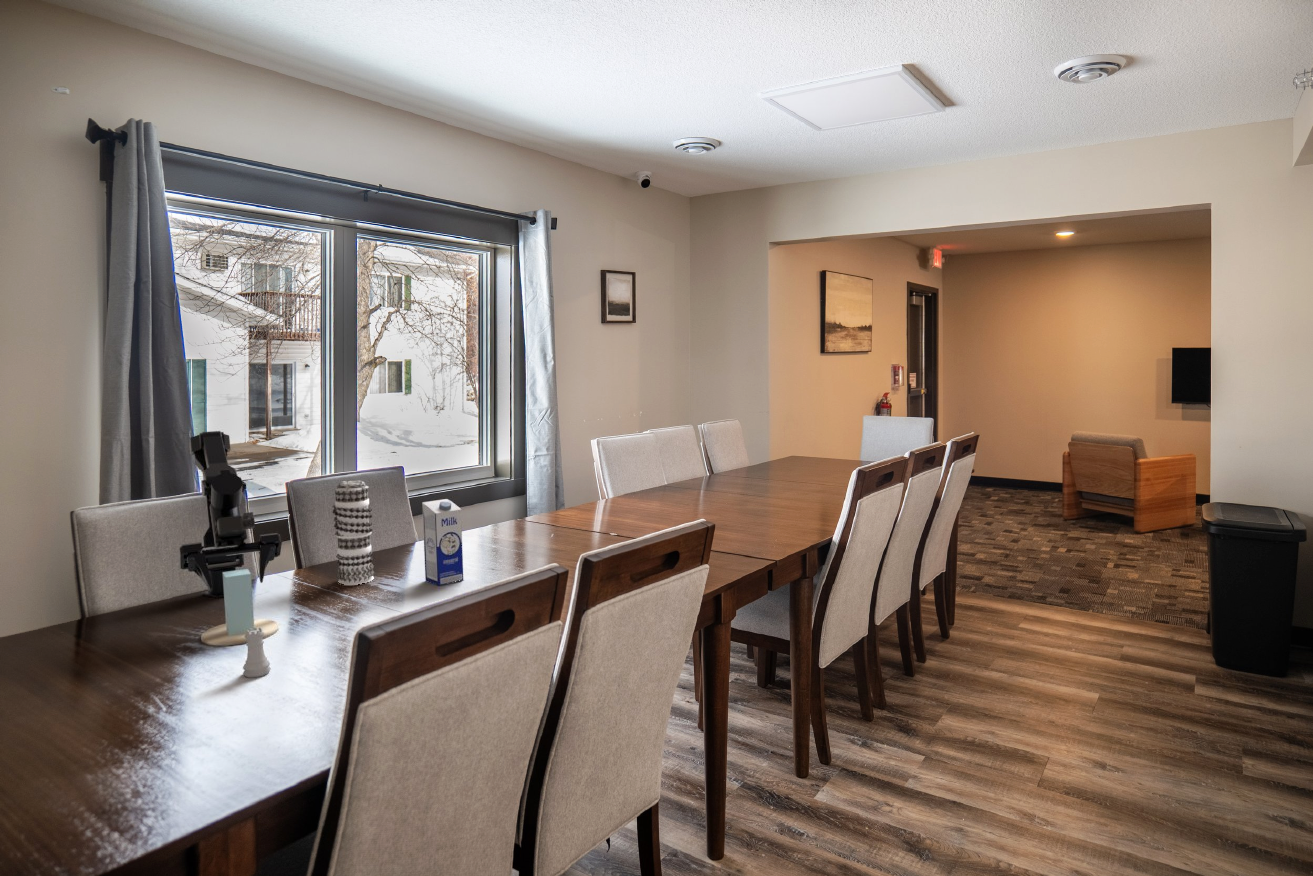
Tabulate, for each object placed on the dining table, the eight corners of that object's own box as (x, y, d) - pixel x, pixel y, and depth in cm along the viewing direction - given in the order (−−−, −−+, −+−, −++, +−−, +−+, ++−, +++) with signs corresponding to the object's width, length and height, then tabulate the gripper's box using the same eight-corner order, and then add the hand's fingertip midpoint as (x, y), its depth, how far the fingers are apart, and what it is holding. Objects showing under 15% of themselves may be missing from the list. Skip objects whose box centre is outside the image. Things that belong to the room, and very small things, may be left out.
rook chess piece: (249, 669, 146) (246, 626, 145) (274, 668, 146) (272, 625, 146) (238, 679, 142) (235, 634, 141) (265, 678, 142) (262, 633, 141)
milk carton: (450, 575, 207) (447, 497, 205) (464, 580, 202) (461, 501, 200) (424, 581, 202) (421, 501, 200) (438, 586, 197) (435, 505, 195)
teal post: (226, 629, 165) (222, 572, 164) (251, 625, 168) (247, 568, 167) (229, 636, 162) (225, 577, 160) (254, 631, 164) (250, 573, 163)
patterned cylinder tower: (327, 583, 200) (322, 483, 198) (354, 574, 209) (350, 478, 206) (357, 587, 197) (352, 485, 194) (383, 577, 205) (378, 479, 203)
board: (186, 638, 162) (185, 635, 162) (250, 618, 174) (250, 615, 174) (230, 650, 155) (230, 647, 155) (293, 628, 168) (293, 625, 168)
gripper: (176, 505, 163) (183, 571, 155) (277, 495, 173) (289, 557, 165) (176, 536, 170) (184, 601, 162) (274, 525, 180) (285, 585, 172)
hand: (236, 585), depth 165 cm, fingers open, 9 cm apart
